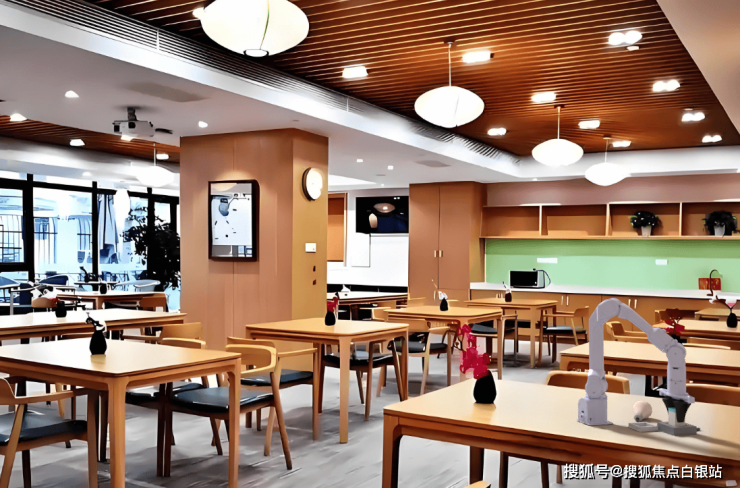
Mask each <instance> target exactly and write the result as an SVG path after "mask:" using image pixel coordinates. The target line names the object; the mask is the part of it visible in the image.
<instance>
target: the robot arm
mask: <svg viewBox="0 0 740 488" xmlns="http://www.w3.org/2000/svg"><path fill="white" fill-rule="evenodd" d="M615 317H617V319H622V320H628V321H629V322H630V323H632V324H633V325H634V326H635V327H636V328H638V329H639V330H641V331H642V332H643V333H644V334H646V336H647V341H648V342H649V343H651V345H653V346H654V347H656V348H657V349H658V350H659V351H660V352H662V353H665V355H666V359H667V366H666V370H667V371H666V376H667V378H666V385H667V386H666V388H667V389H663V388H662V389H659V396H662V397H663V396H664V397H663V398H661V400H662V401H661V402H662V403H663V404H664V406H665V408H666V411H667V413H668V408H674V407H675V409H676V417H677V422H678V423H681V422H684V419H685V420H686V415H687V413H688V410H689V408H690V406H691V405H692V404H695V402H696V400H695V399H696V398H695V397H694V396H692V395H690V394H689V392H687V366H686V364H687V363H686V359H685V358H686V356H687V349H686V347H685V346H684V344H682V343H680V342H678V340H677V339H676V338H675V339H674V338H673V337H672V336H670V335H669V334H668V333H667V330H666V329H665V328H661V327H654V326H652V325H651V323H649V322H647V320H645V318H644V317H642V316H641V315H640V314H639V313H638V312H636V311H635V310H634V309H633V308H631V307H630V306H629V305H628V304H626V303H624V302H622V301H621V300H620V299H618V298H616V297H611V298H608V299H607V298H606V299H604V300H602V302H600V303H598V305H597V306H596V307H595V309H594V311H593V312H592V313H591V315H590V317H589V318H588V355H589V356H588V363H589V364H588V365H589V366H588V367H589V369H588V372H587V373H588V374H587V381H586V383H585V385H584V391H585V392H586V394H585V397H581V398H579V400H578V402H577V418H576V421H577V422H580V423H582V424H584V425H588V426H600V425H613V422H612V421H609V420H608V395H607V394H606V391H607V390H609V389H608V387H609V384H608V381H607V379H606V378H607V377H606V372H605V361H604V356H605V355H604V354H605V353H604V350H605V349H604V348H605V347H604V342H605V340H604V338H605V337H604V325H605V324H606V323H607V322H608V321H610V319H613V318H615Z"/></svg>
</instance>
